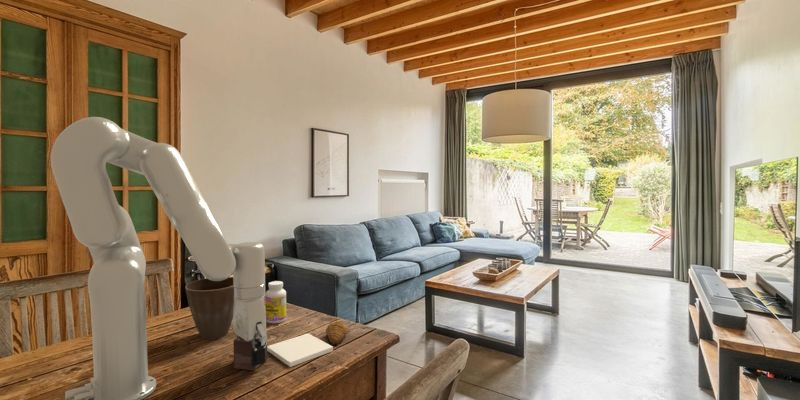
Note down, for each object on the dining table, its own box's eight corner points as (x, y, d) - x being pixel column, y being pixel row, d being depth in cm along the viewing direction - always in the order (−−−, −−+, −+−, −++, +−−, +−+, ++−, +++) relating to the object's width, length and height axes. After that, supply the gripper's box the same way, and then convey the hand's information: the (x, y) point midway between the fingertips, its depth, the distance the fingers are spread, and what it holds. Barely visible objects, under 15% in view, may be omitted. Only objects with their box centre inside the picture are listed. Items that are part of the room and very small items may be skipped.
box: (254, 371, 94) (254, 342, 94) (233, 368, 95) (232, 340, 95) (268, 359, 100) (267, 332, 100) (247, 357, 101) (247, 330, 101)
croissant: (328, 328, 122) (328, 313, 121) (349, 328, 122) (349, 313, 122) (322, 347, 108) (322, 330, 108) (346, 346, 109) (346, 329, 108)
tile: (290, 367, 96) (290, 362, 96) (266, 350, 105) (266, 346, 105) (333, 351, 105) (333, 346, 105) (308, 337, 114) (308, 333, 114)
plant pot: (242, 339, 112) (241, 286, 112) (184, 349, 106) (183, 292, 105) (239, 322, 126) (238, 274, 125) (188, 330, 120) (187, 279, 119)
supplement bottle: (261, 322, 126) (260, 284, 125) (273, 316, 132) (273, 279, 131) (278, 325, 124) (278, 286, 123) (290, 318, 130) (289, 281, 129)
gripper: (221, 287, 100) (223, 352, 101) (249, 302, 88) (250, 376, 89) (249, 282, 105) (250, 343, 106) (279, 295, 93) (280, 365, 94)
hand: (250, 358), depth 97 cm, fingers closed on box, 8 cm apart
